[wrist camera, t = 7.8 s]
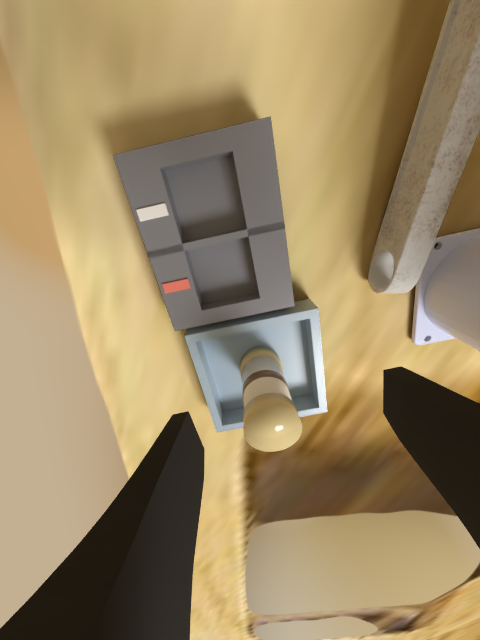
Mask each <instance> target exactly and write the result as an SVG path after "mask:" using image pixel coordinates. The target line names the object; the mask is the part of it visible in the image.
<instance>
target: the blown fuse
mask: <svg viewBox="0 0 480 640" xmlns="http://www.w3.org/2000/svg"><path fill="white" fill-rule="evenodd" d="M240 376H241V379H242V385H243V388H242V392H243V401H244V411H243V426H244V436H245V439H246V441H247V442H248V443H249V444H250V445H251V446H252V447H254V448H256V449H258V450H261V451H267V452H274V451H280V450H283V449H286V448H288V447H290V446H291V445H293V444H294V443H295V442H296V441H297V440H298V439H299V437H300V435H301V433H302V424H301V420H300V417H299V414H298V411H297V408H296V406H295V404H294V402H293V401H292V399H291V396H290V393H289V388H288V385H287V382H286V380H285V377H284V374H283V367H282V364H281V361H280V358H279V356H278V354H277V353H276V352H275V351H274V350H272V349H270V348H268V347H255V348H252V349H250V350H248V351H247V352H246V353H245V354H244V355H243V356H242V358H241V361H240Z"/></svg>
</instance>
